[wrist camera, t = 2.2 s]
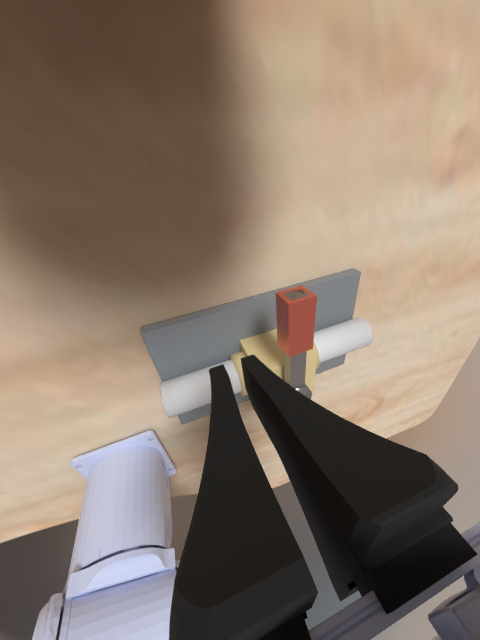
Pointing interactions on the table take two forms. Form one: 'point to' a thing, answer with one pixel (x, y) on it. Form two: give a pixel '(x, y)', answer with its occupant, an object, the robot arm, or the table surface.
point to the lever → (296, 333)
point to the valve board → (238, 324)
